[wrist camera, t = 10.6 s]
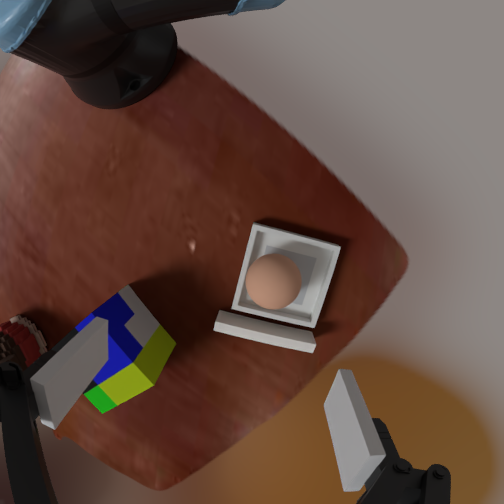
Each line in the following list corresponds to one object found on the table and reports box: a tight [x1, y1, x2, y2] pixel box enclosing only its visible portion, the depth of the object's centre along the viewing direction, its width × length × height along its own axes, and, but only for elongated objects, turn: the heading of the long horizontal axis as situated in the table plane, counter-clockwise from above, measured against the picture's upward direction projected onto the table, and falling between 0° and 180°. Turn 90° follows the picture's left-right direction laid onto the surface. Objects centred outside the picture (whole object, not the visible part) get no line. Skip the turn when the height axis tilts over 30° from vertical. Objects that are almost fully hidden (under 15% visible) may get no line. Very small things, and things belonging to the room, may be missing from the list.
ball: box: [246, 254, 302, 310], centre depth 34 cm, size 6×6×6 cm
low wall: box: [214, 310, 316, 353], centre depth 37 cm, size 1×12×4 cm, turn 76°
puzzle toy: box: [51, 285, 176, 413], centre depth 35 cm, size 10×10×10 cm
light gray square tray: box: [232, 222, 341, 328], centre depth 36 cm, size 10×10×2 cm
